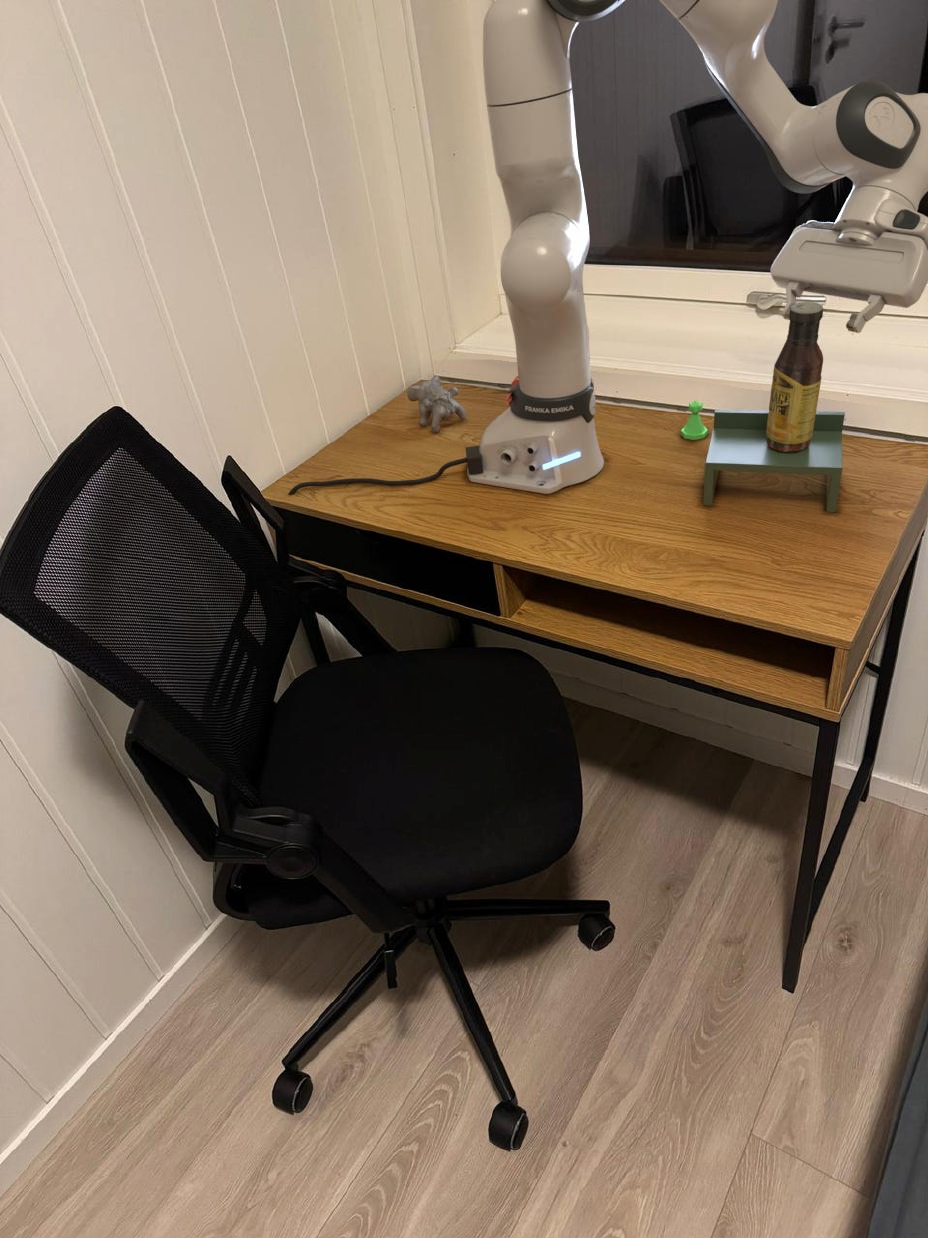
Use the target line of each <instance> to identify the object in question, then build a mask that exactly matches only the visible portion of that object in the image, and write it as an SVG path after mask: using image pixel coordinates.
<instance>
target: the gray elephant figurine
mask: <svg viewBox="0 0 928 1238" xmlns="http://www.w3.org/2000/svg"><path fill="white" fill-rule="evenodd" d="M450 391H451V392H450ZM457 395H459V389H458V388H457V387H455V386H451V387H449V388H448V389H446V388H444V387H442V381H441V378H440V377H439V376H438V375H435V376H433V377H431V379H430V380H429V379H427V380H424V381H422V382H420V383H419V384H414V385H412V386H410V387H409V388H408V389H407V393H406V396H407V397H406V398H407V399H408V400H409V401H410V402H417V401H418V402H417V403H418V407H419V414H420V419H419V425H420V426H421V427H427V426H428V425H429V421H430V418H431V415H432V421H431V425H430V426H431V427H430V428H431V432H433V433H435V434H436V433H439V432H440V429H441V428H440V426H441V422H442V419H443V418H445V419H446V420H449V417H450V416H451V415H457V417H458V418H459V419H460V420H461V421H464V420H465V419H466V417H467V413H466V410H465V408H463V406H462V405H461V404H460V403H459V402H458V401H457V400H455V399H454V397H455V396H457Z"/></svg>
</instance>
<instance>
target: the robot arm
mask: <svg viewBox="0 0 928 1238" xmlns="http://www.w3.org/2000/svg"><path fill="white" fill-rule="evenodd" d="M625 1H626V0H495V1H494V2H493V3H492V4H491V5H490V6H489V7H488V9H487V10H486V13H485V15H484V19H483V23H482V24H483V25H482V69H483V70H482V71H483V82H484V84H483V85H484V95H485V103H486V110H487V111H486V112H487V118H488V126H489V132H490V133H489V134H490V140H491V146H492V153H493V160H494V161H493V162H494V169H495V173H496V176H497V178H498V179H499V183H500V186H501V189H502V193H503V196H504V200H505V204H506V208H507V212H508V216H509V222H510V237H509V239H508V240H507V242H506V244H505V246H504V247H503V250H502V253H501V256H500V257H501V258H500V269H499V270H500V281H501V282H500V283H501V286H502V289H503V293H504V297H505V302H506V306H507V307H506V308H507V312H508V315H509V320H510V323H511V327H512V333H513V337H514V343H515V344H514V345H515V355H516V364H517V365H516V366H517V376H515V377H514V379H513V381H512V382H511V387H510V388H509V390H508V392H507V396H506V397H505V399H506V406H509V407H507V409H504V411H502V412H501V413H500V414H499V415H498V416H496V417H495V418H493V419H492V421H491V422H490V423H489V424H487V426H486V427H485V429H484V430H483V432H482V435H481V438H480V440H479V441H480V442H479V445H472V446H465V448H464V449H465V457H463V458H458V459H455V460H451V461H448V462H446V463H445V464H443V465H442V466H441V467H440V468H439V469H438V471H437V472H436V473H434V474H431V475H429V476H427V477H423V478H415V479H404V480H386V479H385V480H384V479H377V478H370V477H369V478H368V477H366V478H365V477H364V478H363V477H361V478H360V477H358V478H341V479H332V480H323V481H305V482H300V483H298V484H296V485H295V486H293V487H292V488H291V489H290V490H289V492H288V493H287V495H288V496H293V495H295V494H296V492H297V491H299V490H300V489H304V488H308V487H328V486H329V487H330V486H336V485H345V484H373V485H379V486H380V485H381V486H390V487H391V486H392V487H393V486H412V485H420V484H424V483H428V482H431V481H435V480H437V479H438V478H441V476H442V475H443V474H444V472H445V471H446V470H448V469H449V468H452V467H454V466H459V465H463V464H466V465H467V467H466V476H467V478H468V481H470V482H472V483H476V484H482V485H488V486H495V487H501V488H507V489H513V490H519V491H525V492H532V493H536V494H537V493H538V494H544V495H550V494H553V493H556V492H558V491H560V490H561V489H563V488H566V487H568V486H573V485H576V484H580V483H582V482H585V481H588V480H590V479H592V478H594V477H595V476H596V475H598V474H599V473H600V472H601V471H602V470H603V468H604V465H605V459H604V456H603V454H602V451H601V449H600V445H599V441H598V436H597V431H596V425H595V419H594V418H595V414H596V391H595V385H594V380H593V378H592V377H591V352H590V349H591V348H590V329H589V327H588V320H587V313H586V304H585V293H584V284H583V283H584V281H583V279H584V278H583V277H584V276H583V275H584V268H585V267H584V266H585V262H586V259H587V256H588V252H589V249H590V241H591V240H590V239H591V238H590V237H591V236H590V228H589V220H588V213H587V204H586V197H585V190H584V185H583V178H582V171H581V167H580V161H579V153H578V151H579V150H578V142H577V141H578V139H577V130H576V129H577V128H576V127H577V126H576V117H575V115H576V114H575V107H574V105H575V104H574V93H573V83H572V71H571V58H570V57H571V56H570V55H571V42H572V38H573V34H574V32H575V30H576V28H577V26H579V24H580V23H581V22H591V21H594V20H598V19H600V18H602V17H605V16H607V15H608V14H610V13H611V12H612V11H614V10H615V9H617V8H618V7H620V5H622V4H623V2H625ZM658 1H659V2H660V3H661V4H662V5H663V6H664V7H665V8H666V9H667V10H668V12H670V14H671V15H672V16H673V17H674V18H675V19H676V20H677V21H678V22H679V23H680V25H682V26H683V28H684V29H685V31H686V32H687V33H688V34H689V35H690V36H691V38H692V39H693V40H694V42H695V43H696V45H697V47H698V48H699V50H700V52H701V53H702V55H703V60H704V64H705V66H706V68H707V70H708V71H707V72H708V73H709V75H710V76H711V78H712V80H713V81H714V82H715V84H716V85H717V87H718V88H719V89H720V91H721V92H722V94H723V95H724V97H725V98H726V99H727V100H728V102H729V103H730V104H731V106H732V107H733V108H734V110H735V111H736V112H737V113H738V115H739V116H740V117H741V119H742V120H743V121H744V123H745V124H746V125H747V127H748V128H749V129H750V131H751V132H752V133H753V134H754V136H755V137H756V138H757V140H758V141H759V143H760V145H761V146H762V148H763V149H764V152H765V155H766V156H767V159H768V161H769V164H770V166H771V169H772V171H773V174H774V175H775V177H776V179H777V180H778V181H779V182H780V183H781V185H782V186H784V188H786V189H787V190H789V191H791V192H794V193H797V194H812V193H814V192H815V193H816V192H817V191H819V190H821V189H823V188H825V187H827V186H828V185H830V184H832V183H833V182H835V181H837V180H839V179H843V178H844V177H847V178H848V179H850V180H851V181H852V189H851V191H850V193H849V195H848V197H847V198H846V200H845V202H844V204H843V206H842V208H841V210H840V212H839V214H838V216H837V218H836V219H835V222H830V221H827V222H826V221H825V222H824V221H823V222H822V221H817V220H808V221H807V222H806V223H802V224H801V225H799V226H796V227H795V228H794V229H793V231H792V233H791V235H790V236H789V239H788V240H787V241H786V243H785V244H784V246H783V247H782V249H781V250H780V251H779V253H778V255H777V256H776V257H775V259H774V260H773V263H772V264H771V267H770V275H771V279H772V280H773V281H774V283H775V285H776V286H777V287H778V288H781V289H785V296H786V297H785V299H786V304H785V306H784V308H783V310H782V311H781V316H782V318H783V319H784V320H787V321H790V319H789V312H790V308H791V307H792V306H793V305H794V304H797V298H798V299H799V298H801V297H802V295H803V293H804V292H805V293H812V294H818V295H825V296H829V297H830V296H831V297H837V298H843V299H848V300H855V301H861V302H867V304H868V305H866V307H864V308H863V309H862V310H861V311H860V312H858V313H851V315H850V316H849V319H848V321H847V322H846V324H845V328H846V329H847V332H850V333H851V332H852V333H856V334H860V333H862V330H863V328H864V327H865V325H866V323H868V322H870V320H872V319H873V318H875V317H876V316H877V315H879V314H880V313H881V312H882V311H883V309H884V307H885V306H892V307H898V308H903V309H907V308H910V307H912V306H914V304H916V303H918V301H920V298H922V297H921V296H923V293H924V291H925V289H926V286H927V284H928V216H926V215H925V214H923V213H920V212H918V210H919V205H920V202H921V200H922V198H923V197H924V196H925V195H926V194H927V193H928V92H927V93H926V92H920V93H915V94H903V93H900V92H897V91H894V90H893V89H892V87H890V86H889V85H887V84H886V83H884V82H882V81H879V80H870V79H869V80H863V81H861V82H857V83H856V84H854V85H851V86H850V87H847V88H846V89H844V90H842V91H840V92H838V93H836V94H834V95H833V96H831V97H829V98H828V99H827V100H825V101H822V102H821V103H819V104H817V105H815V106H811V105H810V106H809V105H805V104H802V103H800V102H799V101H798V100H797V99H796V98H795V97H794V95H793V94H792V93H791V91H790V90H789V88H788V86H787V85H786V84H785V83H784V81H783V80H782V78H781V76H779V74H778V73H777V71H776V70H775V68H774V67H773V66H772V65H771V63H770V61H769V60H768V57H767V54H766V52H765V37H766V33H767V31H768V29H769V27H770V25H771V22H772V20H773V18H774V15H775V13H776V9H777V6H778V2H779V0H658ZM315 618H316V619H317V622H318V617H317V614H316V615H315ZM318 623H319V622H318Z"/></svg>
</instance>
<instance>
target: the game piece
mask: <svg viewBox="0 0 928 1238" xmlns="http://www.w3.org/2000/svg"><path fill="white" fill-rule="evenodd" d="M702 411H703V402H701V401H698V400H694V401H692V402H689V403H688V412H690V413H691V414H690V415H689V418H688V420H687V421H686V424H685V426H684V427H683V428H681V430H680V435H681V436H682V438H684V439H685V440H691V441H697V440H701V439H704V438H705V437H706V436H707V435H708V434H709V433H708V432H709V431H708V430H709V429H708V428H707V427H706V426H705V425H704V423H703V421H702V417H701V416H700V412H702Z"/></svg>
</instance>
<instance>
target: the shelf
mask: <svg viewBox="0 0 928 1238" xmlns="http://www.w3.org/2000/svg"><path fill="white" fill-rule="evenodd" d="M768 414H769V410H761V409H759V410H757V409H756V410H753V409H752V410H751V409H714V414H713V429H712V433H711V439H710V442H709V446H708V449H707V450H708V451H707V454H706V458H705V459H706V460H705V464H704V466H705V467H704V485H703V502H702V503H703V506H712V505H713V501H714V497H715V492H716V488H717V483H718V478H719V472H720V471H721V472H743V473H767V474H768V473H769V474H791V475H813V476H814V475H815V476H826V504H825V505H826V506H825V507H826V509H825V511H826V513H836V512H837V506H838V499H839V493H840V487H841V481H842V475H843V474H842V473H843V469H844V468H843V428H844V421H845V417H846V416H845V415H846V412H845V411H816V415H815V421H814V428H813V434H812V437H811V440H810V445H809V446H808V447H807V448H806V449H803V450H802V451H797V452H779V451H777V450H775V449H772V448H771V447H769V446H768V444H767V434H766V430H767V422H768Z"/></svg>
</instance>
